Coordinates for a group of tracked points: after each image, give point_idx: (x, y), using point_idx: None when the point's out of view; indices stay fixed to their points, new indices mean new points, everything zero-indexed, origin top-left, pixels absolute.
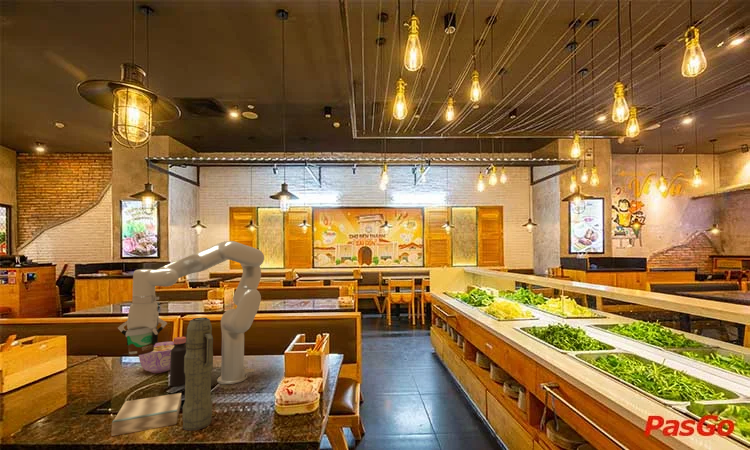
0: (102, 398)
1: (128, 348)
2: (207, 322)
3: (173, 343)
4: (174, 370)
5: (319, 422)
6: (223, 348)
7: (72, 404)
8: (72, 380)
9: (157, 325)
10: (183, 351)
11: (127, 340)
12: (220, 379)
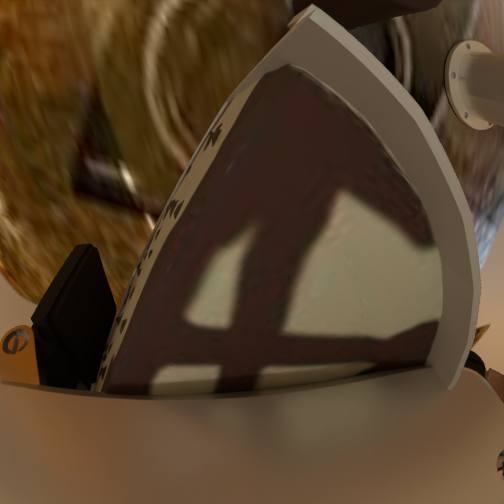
0: (66, 67)
1: (113, 323)
2: None
3: None
4: (336, 17)
5: (471, 348)
6: None
7: (6, 106)
8: None
9: (462, 379)
10: (427, 9)
11: (91, 387)
12: (455, 84)
